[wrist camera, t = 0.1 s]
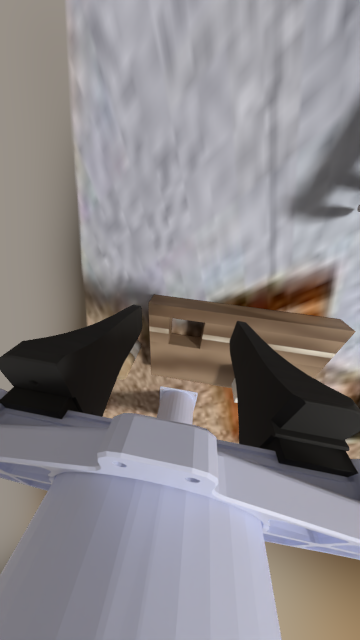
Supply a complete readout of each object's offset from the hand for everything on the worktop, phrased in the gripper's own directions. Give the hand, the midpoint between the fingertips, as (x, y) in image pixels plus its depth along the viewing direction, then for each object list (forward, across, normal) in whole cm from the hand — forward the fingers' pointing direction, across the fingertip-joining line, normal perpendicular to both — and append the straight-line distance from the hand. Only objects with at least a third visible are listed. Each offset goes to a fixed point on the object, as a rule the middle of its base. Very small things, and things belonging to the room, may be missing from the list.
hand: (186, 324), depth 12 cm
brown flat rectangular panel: (+10, -7, +10) cm, 15 cm away
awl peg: (+10, +9, +13) cm, 18 cm away
